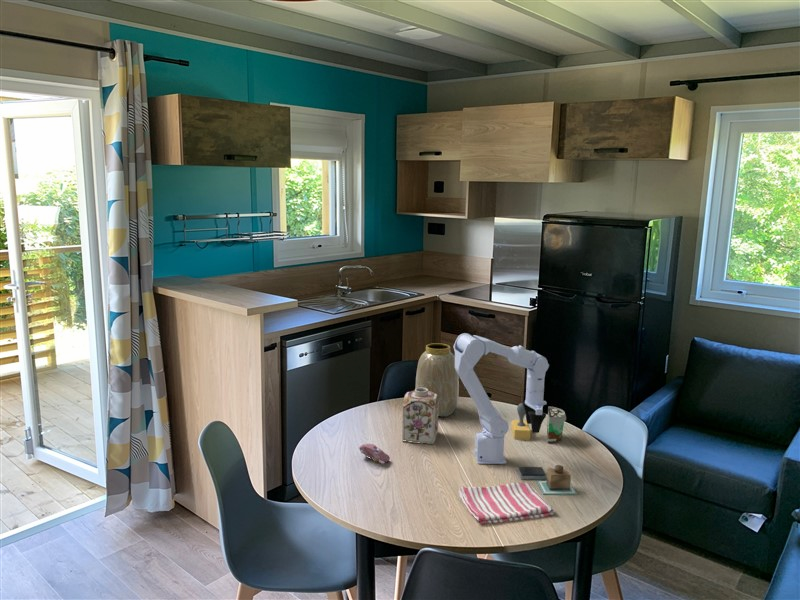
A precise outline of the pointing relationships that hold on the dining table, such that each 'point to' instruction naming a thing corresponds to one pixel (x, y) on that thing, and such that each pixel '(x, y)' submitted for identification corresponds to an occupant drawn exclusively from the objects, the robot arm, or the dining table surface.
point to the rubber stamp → (521, 425)
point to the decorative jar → (420, 416)
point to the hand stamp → (558, 479)
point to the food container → (555, 424)
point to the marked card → (546, 490)
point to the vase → (439, 376)
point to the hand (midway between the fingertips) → (532, 427)
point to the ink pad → (531, 473)
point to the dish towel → (505, 503)
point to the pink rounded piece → (374, 452)
